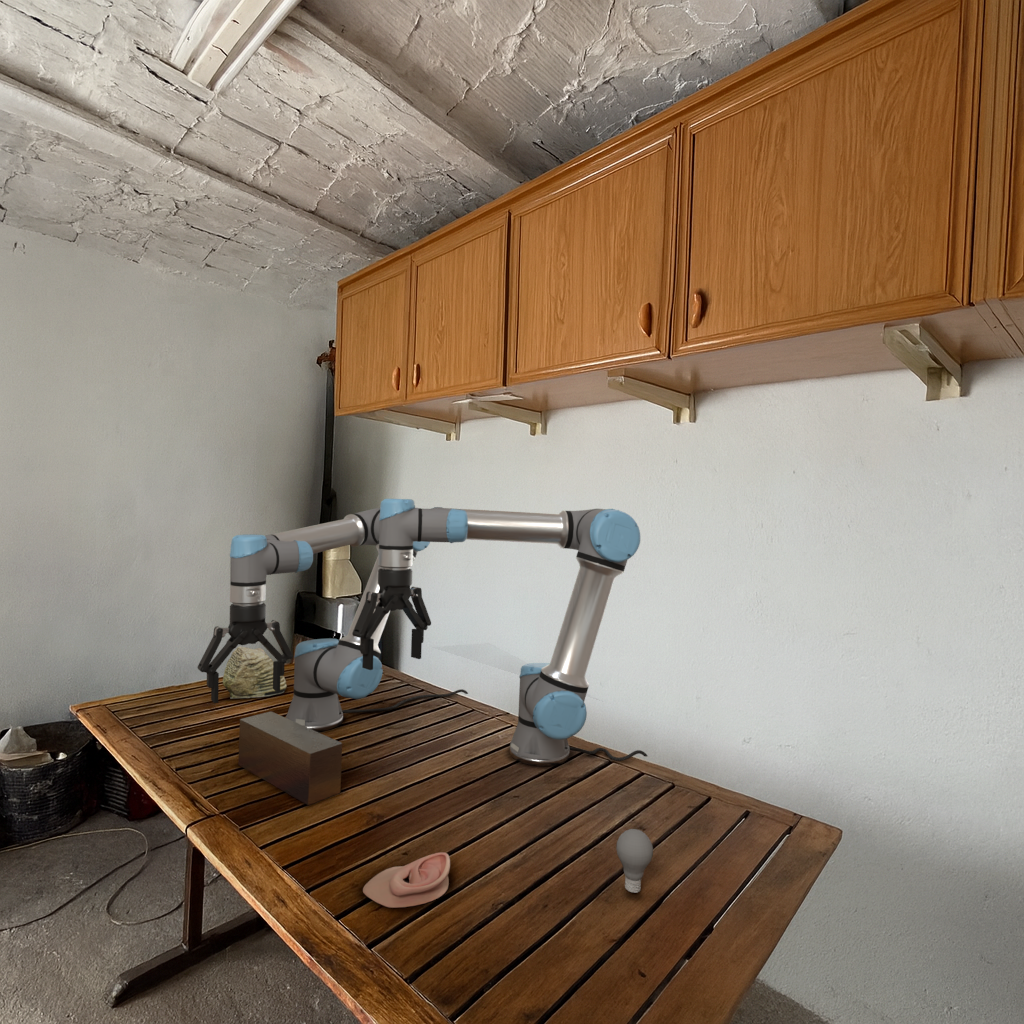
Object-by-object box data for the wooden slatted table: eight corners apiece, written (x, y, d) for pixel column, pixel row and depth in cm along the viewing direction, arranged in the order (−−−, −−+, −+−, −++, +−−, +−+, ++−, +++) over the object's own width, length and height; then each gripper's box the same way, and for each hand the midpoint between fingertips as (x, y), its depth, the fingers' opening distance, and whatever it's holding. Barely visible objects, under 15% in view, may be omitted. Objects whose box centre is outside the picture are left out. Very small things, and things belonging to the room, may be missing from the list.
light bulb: (610, 879, 108) (613, 822, 108) (644, 879, 109) (647, 822, 109) (619, 902, 102) (622, 840, 102) (655, 901, 103) (658, 840, 103)
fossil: (218, 695, 195) (220, 647, 195) (278, 685, 208) (279, 640, 207) (228, 703, 189) (230, 653, 188) (289, 692, 201) (290, 645, 201)
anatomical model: (355, 876, 100) (384, 838, 111) (354, 901, 100) (383, 861, 111) (435, 890, 97) (457, 850, 108) (434, 916, 97) (456, 873, 108)
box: (238, 765, 147) (239, 719, 147) (269, 755, 154) (271, 711, 153) (308, 805, 130) (310, 753, 130) (340, 792, 136) (342, 743, 136)
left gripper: (192, 611, 132) (191, 711, 133) (308, 600, 149) (306, 689, 149) (183, 605, 138) (182, 701, 139) (295, 595, 154) (294, 681, 155)
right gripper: (358, 573, 129) (356, 677, 129) (447, 566, 148) (445, 656, 148) (337, 569, 134) (334, 669, 134) (426, 563, 153) (423, 650, 153)
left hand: (246, 695), depth 144 cm, fingers open, 13 cm apart
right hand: (392, 663), depth 141 cm, fingers open, 13 cm apart
